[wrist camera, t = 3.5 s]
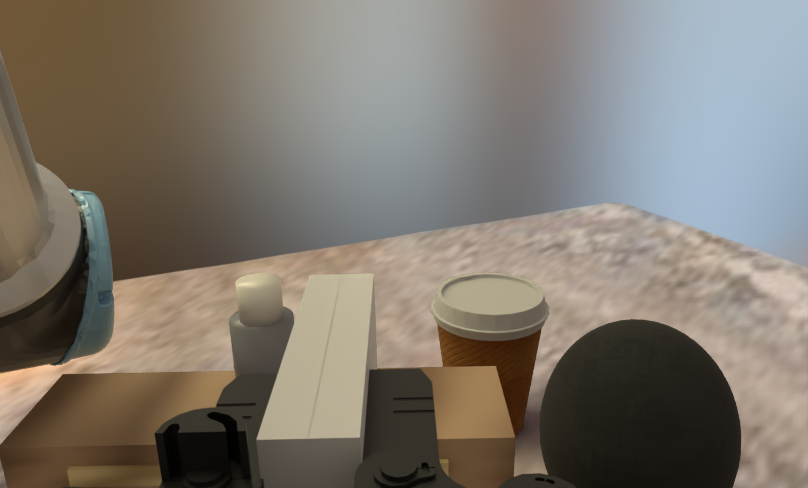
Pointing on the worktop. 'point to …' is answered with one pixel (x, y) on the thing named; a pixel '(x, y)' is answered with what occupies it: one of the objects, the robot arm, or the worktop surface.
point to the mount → (184, 391)
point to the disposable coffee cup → (493, 330)
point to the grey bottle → (259, 325)
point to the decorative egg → (639, 412)
